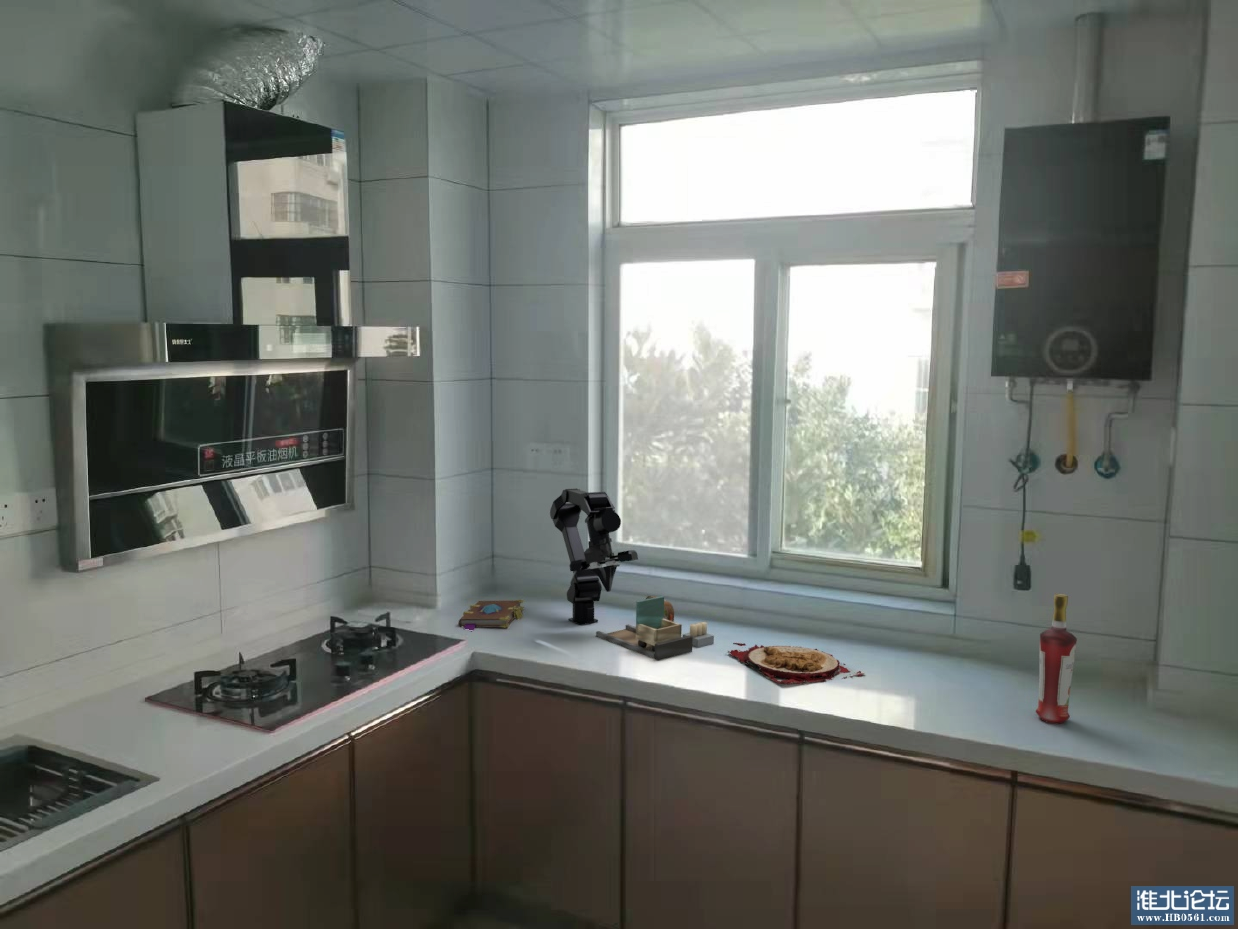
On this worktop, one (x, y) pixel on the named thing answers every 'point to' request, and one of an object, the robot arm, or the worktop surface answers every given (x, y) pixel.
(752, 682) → the worktop surface
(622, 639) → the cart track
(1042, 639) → the liquor
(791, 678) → the plate with food
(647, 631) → the cart
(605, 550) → the robot arm
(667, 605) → the tin
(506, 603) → the book
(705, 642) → the grey block with cylinders
